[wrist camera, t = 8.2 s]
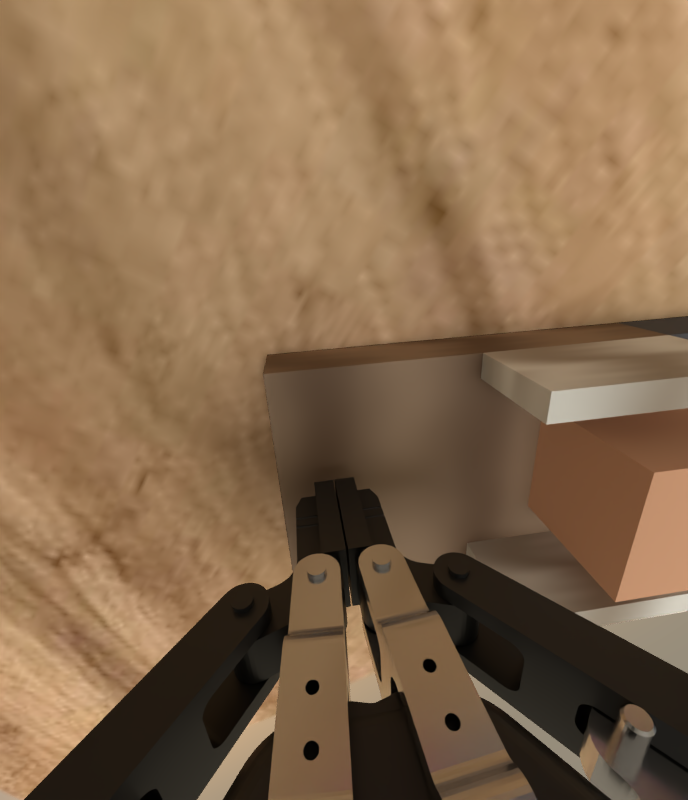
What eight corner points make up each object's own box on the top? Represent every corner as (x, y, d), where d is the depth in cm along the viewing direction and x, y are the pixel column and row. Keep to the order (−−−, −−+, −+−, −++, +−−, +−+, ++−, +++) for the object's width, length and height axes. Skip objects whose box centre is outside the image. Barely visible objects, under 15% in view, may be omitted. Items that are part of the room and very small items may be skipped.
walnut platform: (294, 544, 19) (295, 678, 13) (267, 354, 15) (251, 423, 9) (577, 505, 21) (693, 610, 15) (617, 322, 17) (795, 365, 11)
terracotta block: (527, 505, 17) (614, 602, 12) (543, 403, 15) (654, 473, 10) (630, 491, 17) (750, 579, 13) (658, 390, 16) (812, 451, 11)
